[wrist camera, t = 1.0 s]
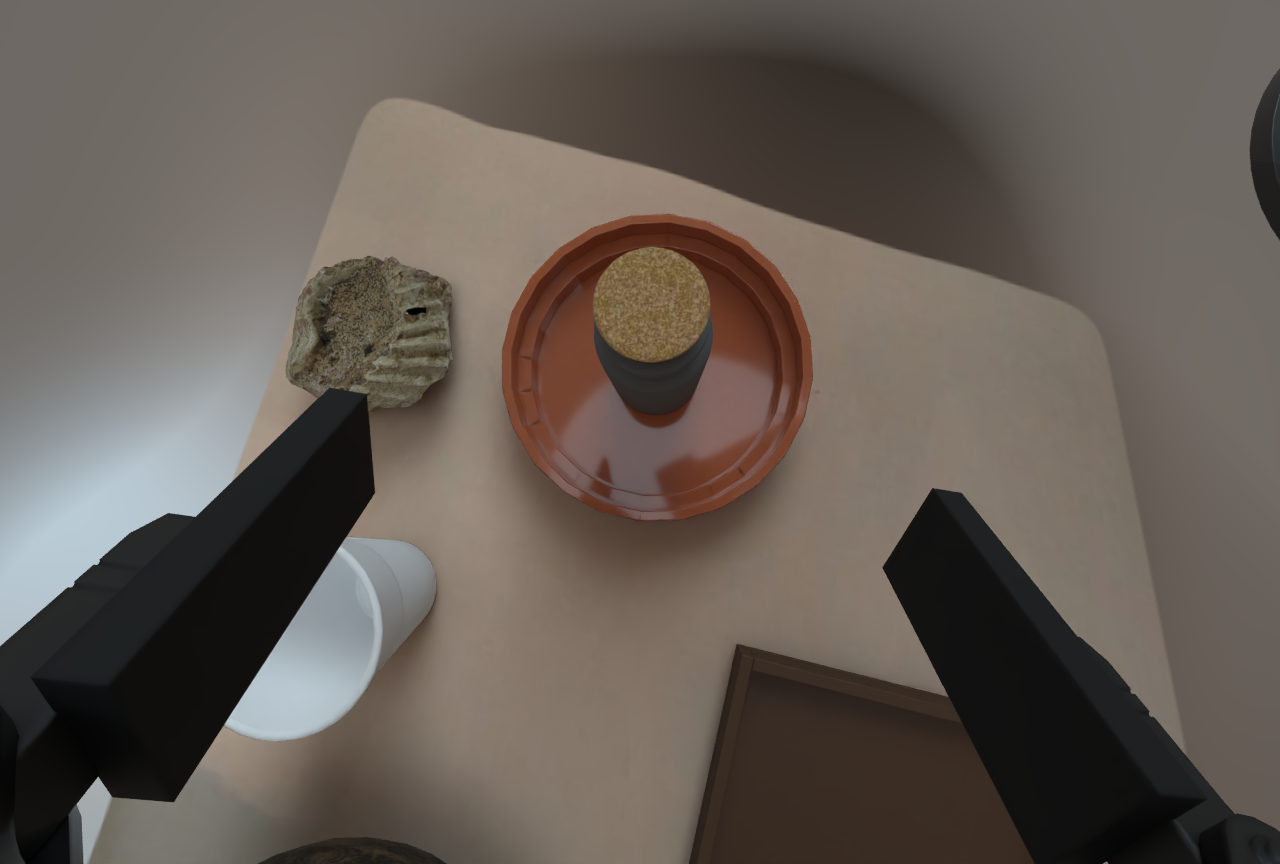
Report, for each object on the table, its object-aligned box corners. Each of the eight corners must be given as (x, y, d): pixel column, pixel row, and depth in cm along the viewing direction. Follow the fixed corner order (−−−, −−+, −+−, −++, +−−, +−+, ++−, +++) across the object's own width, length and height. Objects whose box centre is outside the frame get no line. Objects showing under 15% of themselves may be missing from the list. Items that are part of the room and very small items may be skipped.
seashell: (487, 317, 40) (363, 226, 37) (498, 304, 34) (348, 193, 30) (397, 441, 39) (259, 358, 35) (391, 453, 32) (220, 353, 29)
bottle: (622, 323, 37) (594, 220, 22) (706, 339, 36) (738, 247, 21) (604, 406, 36) (564, 360, 21) (689, 423, 36) (709, 389, 21)
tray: (1072, 728, 34) (1099, 745, 32) (1027, 984, 33) (1052, 1018, 31) (736, 643, 35) (741, 654, 33) (683, 887, 34) (685, 914, 32)
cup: (495, 602, 36) (421, 659, 25) (375, 690, 36) (248, 786, 25) (413, 482, 37) (307, 486, 26) (295, 568, 37) (139, 609, 26)
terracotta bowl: (824, 269, 37) (841, 248, 33) (764, 545, 35) (775, 553, 32) (554, 213, 38) (543, 187, 34) (487, 479, 37) (468, 479, 33)
